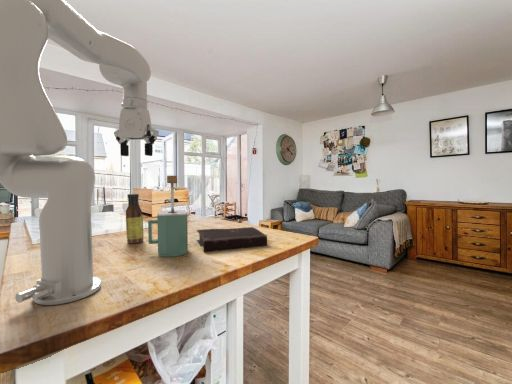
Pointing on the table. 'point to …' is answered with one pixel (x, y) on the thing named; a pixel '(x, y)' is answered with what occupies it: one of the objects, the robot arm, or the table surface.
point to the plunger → (172, 189)
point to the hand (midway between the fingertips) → (136, 155)
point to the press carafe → (170, 233)
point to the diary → (231, 238)
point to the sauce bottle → (134, 220)
